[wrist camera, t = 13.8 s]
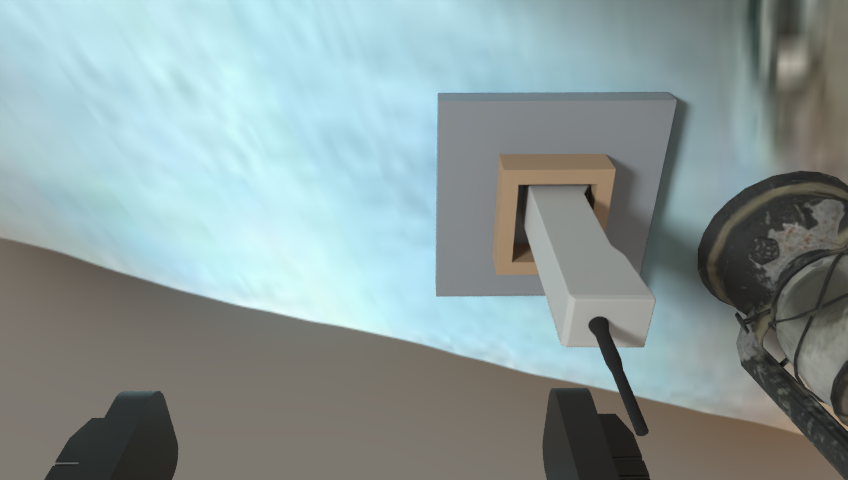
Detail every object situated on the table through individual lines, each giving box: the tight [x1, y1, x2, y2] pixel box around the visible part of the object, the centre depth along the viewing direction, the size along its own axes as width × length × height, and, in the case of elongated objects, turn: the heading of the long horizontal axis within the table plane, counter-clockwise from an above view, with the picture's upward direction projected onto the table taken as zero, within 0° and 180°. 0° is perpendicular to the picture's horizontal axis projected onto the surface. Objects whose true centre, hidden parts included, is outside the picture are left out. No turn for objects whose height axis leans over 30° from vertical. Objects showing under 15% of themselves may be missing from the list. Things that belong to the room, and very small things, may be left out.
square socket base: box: [436, 92, 677, 296], centre depth 51 cm, size 18×18×5 cm
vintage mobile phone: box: [521, 184, 656, 436], centre depth 40 cm, size 4×5×25 cm
